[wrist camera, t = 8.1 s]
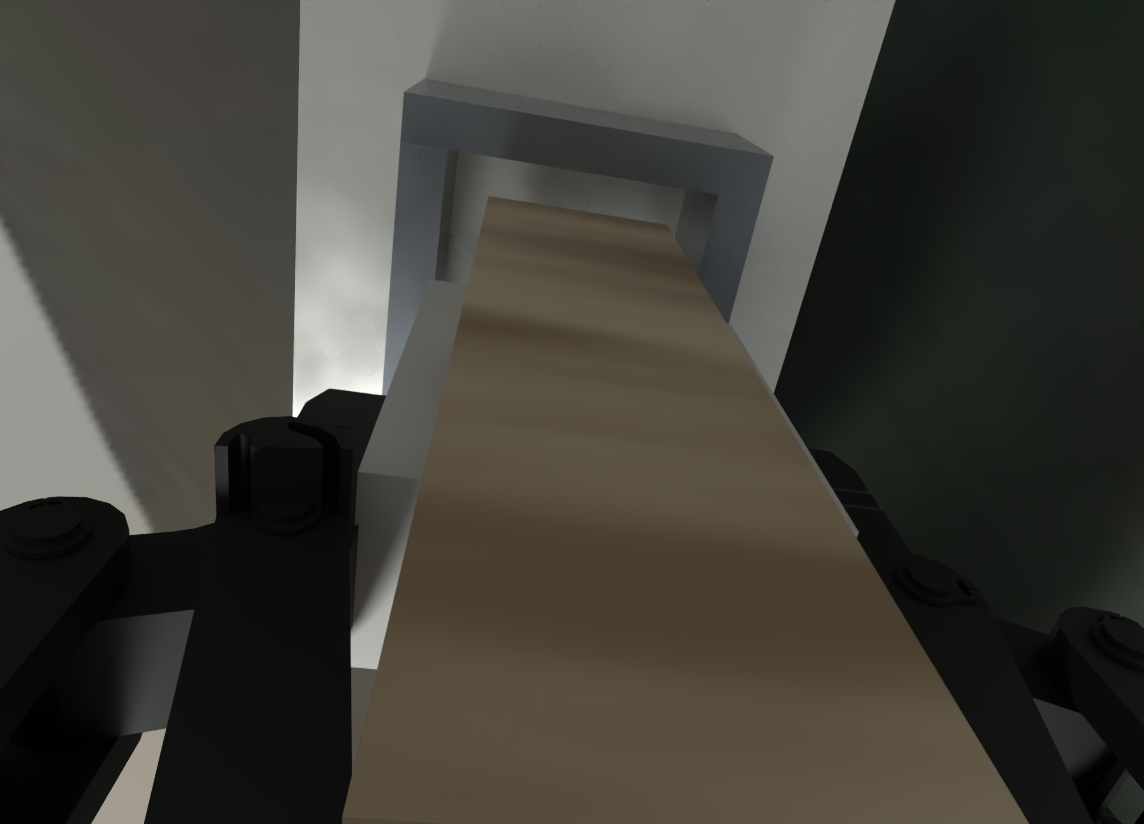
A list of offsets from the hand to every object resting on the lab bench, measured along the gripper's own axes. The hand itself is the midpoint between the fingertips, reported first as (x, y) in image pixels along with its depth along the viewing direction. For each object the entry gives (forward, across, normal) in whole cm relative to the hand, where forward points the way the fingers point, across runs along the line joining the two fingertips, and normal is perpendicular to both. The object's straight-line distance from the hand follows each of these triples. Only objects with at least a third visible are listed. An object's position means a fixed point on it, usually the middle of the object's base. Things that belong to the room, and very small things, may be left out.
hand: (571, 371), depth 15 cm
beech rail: (+4, 0, 0) cm, 4 cm away
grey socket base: (+9, 0, 0) cm, 9 cm away
